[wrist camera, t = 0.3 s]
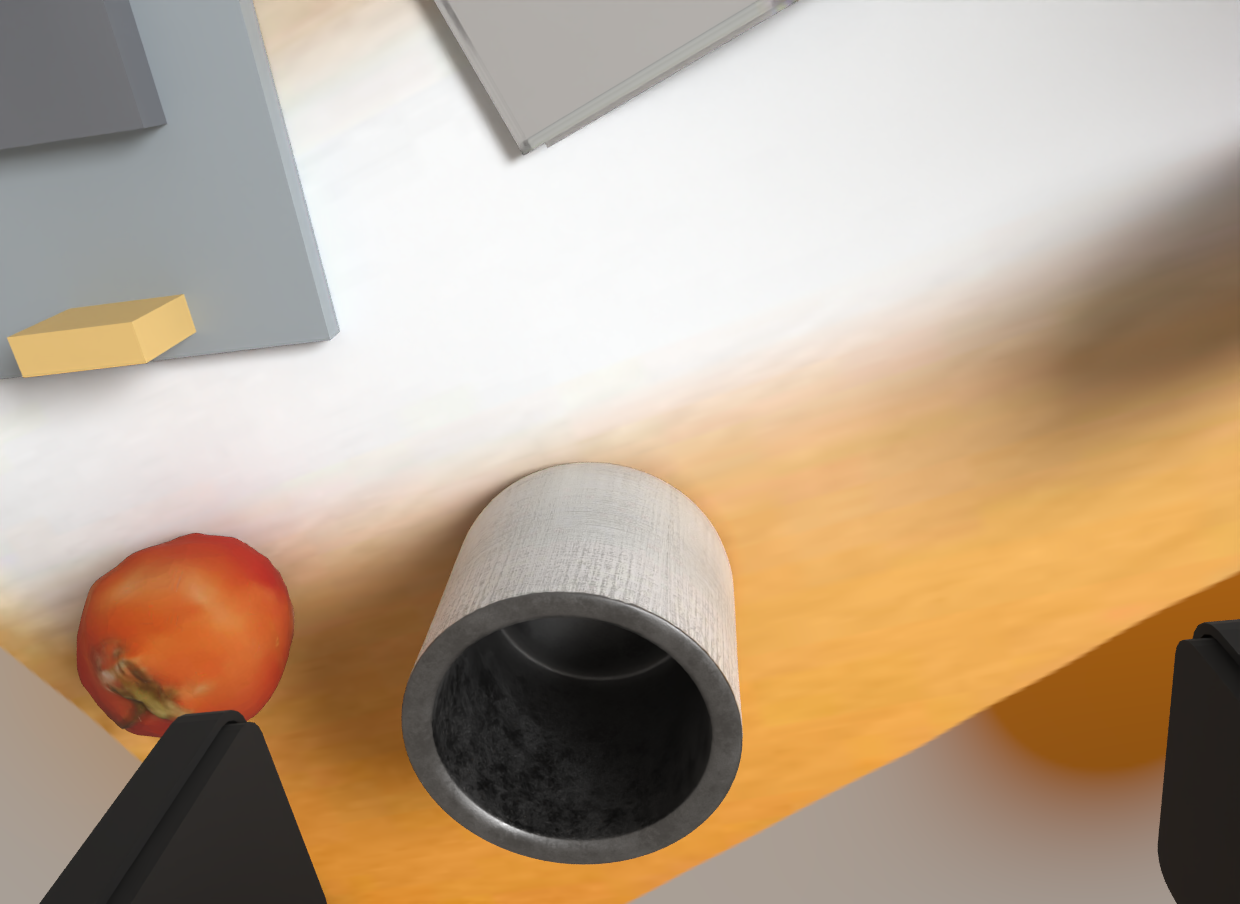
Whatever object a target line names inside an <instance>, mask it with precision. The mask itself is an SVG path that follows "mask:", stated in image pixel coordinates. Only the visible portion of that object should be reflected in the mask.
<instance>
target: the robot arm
mask: <svg viewBox="0 0 1240 904" xmlns="http://www.w3.org/2000/svg"><path fill="white" fill-rule="evenodd" d="M1158 856H1159V863H1160V867H1161V871H1162V874H1163V877H1164V879H1165V882H1166V884H1167V886H1168V888H1169V890H1170V892H1171V894H1172V896H1173V897H1174V899H1175V901H1176V903H1177V904H1240V619H1237V620H1226V621H1216V622H1204V623H1202V624H1200V625H1198V626H1197V628H1196V630H1195V631H1194V636H1193V639H1189V640H1182V641H1180V642H1179V644H1178V646H1177V648H1176V653H1175V663H1174V674H1173V685H1172V696H1171V707H1170V718H1169V728H1168V740H1167V750H1166V761H1165V772H1164V783H1163V794H1162V806H1161V815H1160V826H1159V837H1158ZM40 904H327V902H326V898H325V896H324V893H323V890H322V888H321V885H320V883H319V880H318V877H317V875H316V872H315V869H314V867H313V864H312V862H311V859H310V856H309V854H308V851H307V849H306V846H305V843H304V841H303V838H302V836H301V833H300V830H299V828H298V825H297V823H296V820H295V817H294V815H293V812H292V810H291V807H290V804H289V802H288V799H287V797H286V794H285V791H284V789H283V786H282V783H281V781H280V778H279V776H278V773H277V770H276V768H275V765H274V763H273V760H272V757H271V755H270V752H269V750H268V747H267V744H266V742H265V739H264V737H263V734H262V732H261V730H260V728H259V726H257V725H256V724H255V723H252V722H247V721H246V720H245V718H244V716H243V715H242V714H241V713H239V712H238V711H235V710H224V711H213V712H202V713H191V714H184V715H181V716H179V717H177V718H176V719H175V720H174V721H173V722H172V723H171V725H170V726H169V728H168V729H167V730H166V732H165V733H164V734H163V736H162V737H161V738H160V740H159V741H158V743H157V744H156V745H155V747H154V748H153V749H152V751H151V752H150V753H149V755H148V756H147V758H146V759H145V760H144V762H143V763H142V764H141V766H140V767H139V768H138V770H137V771H136V773H135V774H134V775H133V777H132V778H131V779H130V781H129V782H128V783H127V785H126V786H125V788H124V789H123V790H122V792H121V793H120V794H119V796H118V797H117V799H116V800H115V801H114V803H113V804H112V805H111V807H110V808H109V809H108V811H107V812H106V813H105V815H104V816H103V818H102V819H101V821H100V822H99V823H98V824H97V826H96V827H95V828H94V830H93V831H92V833H91V834H90V835H89V837H88V838H87V840H86V841H85V842H84V844H83V845H82V846H81V848H80V849H79V850H78V852H77V853H76V854H75V856H74V857H73V858H72V860H71V861H70V863H69V864H68V865H67V867H66V868H65V869H64V871H63V872H62V873H61V875H60V876H59V878H58V879H57V880H56V882H55V883H54V884H53V886H52V887H51V888H50V890H49V892H48V893H47V894H46V895H45V897H44V898H43V899H42V901H41V902H40Z"/></svg>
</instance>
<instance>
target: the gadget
mask: <svg viewBox="0 0 1240 904" xmlns="http://www.w3.org/2000/svg"><path fill="white" fill-rule="evenodd" d="M434 1H435V3H436V5H437V7H438V8H439V10H440V12H441V14H442V15H443V17H444V19H445V20H446V22H447V24H448V26H449V27H450V29H451V31H452V33H453V34H454V36H455V38H456V40H457V41H458V43H459V45H460V46H461V48H462V50H463V52H464V53H465V55H466V57H467V59H468V60H469V62H470V64H471V65H472V67H473V69H474V71H475V72H476V74H477V76H478V78H479V79H480V81H481V83H482V85H483V86H484V88H485V90H486V91H487V93H488V95H489V97H490V98H491V100H492V102H493V104H494V105H495V107H496V109H497V110H498V112H499V114H500V116H501V117H502V119H503V121H504V123H505V124H506V126H507V128H508V129H509V131H510V133H511V135H512V136H513V138H514V140H515V142H516V143H517V145H518V147H519V149H520V150H521V152H522V154H523V155H525V154H527V153H529V152H530V151H532V150H534V149H536V148H537V147H539V146H541V145H542V144H544V143H545V144H546V146H547V148H548V147H550V146H551V145H553V144H555V143H557V142H558V141H560V140H562V139H563V138H565V137H567V136H568V135H570V134H572V133H574V132H575V131H577V130H579V129H580V128H582V127H584V126H585V125H587V124H589V123H591V122H592V121H594V120H596V119H597V118H599V117H601V116H602V115H604V114H606V113H608V112H609V111H611V110H613V109H614V108H616V107H618V106H619V105H621V104H623V103H625V102H626V101H628V100H630V99H631V98H633V97H635V96H636V95H638V94H640V93H642V92H643V91H645V90H647V89H648V88H650V87H652V86H653V85H655V84H657V83H659V82H660V81H662V80H664V79H665V78H667V77H669V76H670V75H672V74H674V73H676V72H677V71H679V70H681V69H682V68H684V67H686V66H687V65H689V64H691V63H693V62H694V61H696V60H698V59H699V58H701V57H703V56H704V55H706V54H708V53H710V52H711V51H713V50H715V49H716V48H718V47H720V46H721V45H723V44H725V43H727V42H728V41H730V40H732V39H733V38H735V37H737V36H738V35H740V34H742V33H744V32H745V31H747V30H749V29H750V28H752V27H754V26H755V25H757V24H759V23H761V22H762V21H764V20H766V19H767V18H769V17H771V16H772V15H774V14H776V13H778V12H779V11H781V10H783V9H784V8H786V7H788V6H789V5H791V4H793V3H794V2H796V1H798V0H434Z"/></svg>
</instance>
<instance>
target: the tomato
mask: <svg viewBox="0 0 1240 904" xmlns="http://www.w3.org/2000/svg"><path fill="white" fill-rule="evenodd" d="M293 632H294V610H293V606H292V603H291V600H290V598H289V594H288V590H287V587H286V585H285V583H284V581H283V579H282V577H281V574H280V572H279V571H278V570H277V569H276V568H274V566H273V565H272V564H271V562H270V561H269V559H268V558H266V557H265V556H263V555H262V554H260V553H258V552H257V551H256V550H254V549H253V548H252V547H250V546H248V545H247V544H246V543H243V542H242V541H240V540H238V539H236V538H233V537H224V536H213V535H204V534H199V533H193V534H188V535H185V536H182V537H178V538H176V539H174V540H172V541H169V542H165V543H162V544H160V545H156V546H152V547H149V548H146V549H143V550H141V551H138V552H135V553H133V554H132V555H130V556H128V557H127V558H126V559H125V560H123V561H122V562H121V563H120V564H119V565H118V566H117V567H115V568H114V569H112V570H111V571H109V572H108V573H107V574H105V575H103V576H102V577H101V578H99V579H98V580H97V581H96V582H95V583H94V584H93V585H92V587H91V588H90V590H89V593H88V596H87V599H86V602H85V606H84V609H83V613H82V617H81V621H80V626H79V630H78V634H77V670H78V674H79V677H80V680H81V683H82V684H83V686H84V687H85V688H86V690H87V691H88V692H89V693H90V695H91V696H92V698H93V699H94V700H95V702H96V703H97V705H98V706H99V707H100V708H101V709H102V710H103V711H104V712H105V713H106V715H107V716H108V717H109V718H110V719H111V720H113V721H114V722H115V723H116V724H117V725H118V726H119V727H120V728H121V729H126V730H127V731H129V732H131V733H134V734H137V735H144V736H152V737H160V738H161V737H162V736H163V734H164V733H165V732H166V730H167V729H168V728H169V726H170V725H171V723H172V722H173V721H174V720H175V719H176V718H177V717H179V716H181V715H184V714H191V713H202V712H213V711H224V710H235V711H238V712H239V713H241V714H242V715H243V716H244V718H245V720H246V721H248V720H249V719H250V718H252V717H254V716H255V715H256V714H257V713H258V712H259V711H260V710H261V709H262V708H263V707H264V705H265V704H266V703H267V702H268V700H269V699H270V698H271V696H272V694H273V693H274V691H275V689H276V687H277V685H278V683H279V681H280V679H281V676H282V674H283V671H284V668H285V665H286V662H287V659H288V655H289V650H290V646H291V642H292V638H293Z"/></svg>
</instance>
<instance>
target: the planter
mask: <svg viewBox="0 0 1240 904" xmlns="http://www.w3.org/2000/svg"><path fill="white" fill-rule="evenodd" d="M402 732H403V739H404V743H405V748H406V751H407V754H408V757H409V760H410V762H411V764H412V767H413V769H414V771H415V773H416V775H417V777H418V778H419V780H420V782H421V783H422V785H423V786H424V788H425V789H426V790H427V792H428V793H429V794H430V796H431V797H432V798H433V799H434V800H435V801H436V803H437V804H438V805H439V806H440V807H441V808H442V809H443V810H444V811H445V812H446V813H447V814H448V815H450V816H451V817H452V818H453V819H454V820H455V821H457V822H458V823H459V824H461V825H462V826H463V827H465V828H466V829H468V830H469V831H471V832H472V833H474V834H476V835H477V836H479V837H481V838H483V839H484V840H486V841H488V842H490V843H492V844H494V845H497V846H499V847H501V848H504V849H506V850H509V851H511V852H514V853H517V854H520V855H523V856H527V857H531V858H535V859H539V860H544V861H550V862H557V863H566V864H602V863H611V862H618V861H624V860H629V859H633V858H637V857H640V856H644V855H647V854H650V853H653V852H655V851H658V850H660V849H662V848H665V847H667V846H669V845H671V844H673V843H675V842H677V841H678V840H680V839H682V838H683V837H685V836H686V835H688V834H689V833H691V832H692V831H693V830H695V829H696V828H697V827H698V826H700V825H701V824H702V823H703V822H704V821H705V820H706V819H707V818H708V817H709V816H710V815H711V814H712V813H713V812H714V811H715V810H716V809H717V807H718V806H719V805H720V803H721V802H722V801H723V799H724V798H725V796H726V794H727V793H728V791H729V789H730V787H731V785H732V783H733V781H734V779H735V776H736V773H737V770H738V767H739V763H740V759H741V752H742V737H743V733H742V716H741V703H740V690H739V676H738V660H737V642H736V622H735V604H734V588H733V578H732V571H731V567H730V563H729V560H728V557H727V554H726V551H725V549H724V546H723V544H722V541H721V539H720V537H719V535H718V533H717V531H716V530H715V528H714V526H713V525H712V523H711V522H710V520H709V519H708V518H707V517H706V515H705V514H704V513H703V512H702V511H701V510H700V509H699V507H698V506H697V505H696V504H695V503H694V502H693V501H691V500H690V499H689V498H688V497H687V496H686V495H684V494H683V493H682V492H680V491H679V490H678V489H676V488H674V487H673V486H671V485H670V484H668V483H666V482H665V481H663V480H661V479H659V478H657V477H655V476H653V475H650V474H648V473H645V472H643V471H640V470H636V469H633V468H629V467H625V466H621V465H616V464H609V463H598V462H583V463H570V464H563V465H558V466H554V467H550V468H547V469H543V470H540V471H538V472H535V473H532V474H530V475H528V476H526V477H523V478H521V479H520V480H518V481H516V482H515V483H513V484H511V485H510V486H509V487H507V488H506V489H504V490H503V491H502V492H501V493H499V494H498V495H497V496H496V497H495V498H494V499H493V500H492V501H491V502H490V503H489V504H488V505H487V506H486V507H485V508H484V510H483V511H482V512H481V513H480V515H479V516H478V517H477V519H476V520H475V521H474V523H473V524H472V526H471V528H470V529H469V531H468V533H467V535H466V537H465V539H464V542H463V544H462V547H461V549H460V552H459V554H458V557H457V559H456V562H455V564H454V567H453V569H452V572H451V574H450V577H449V580H448V582H447V585H446V588H445V590H444V593H443V595H442V598H441V600H440V603H439V606H438V608H437V611H436V613H435V616H434V618H433V621H432V623H431V626H430V628H429V631H428V633H427V635H426V638H425V640H424V643H423V645H422V648H421V650H420V652H419V655H418V657H417V660H416V662H415V664H414V667H413V669H412V672H411V675H410V677H409V680H408V683H407V686H406V690H405V694H404V698H403V704H402Z"/></svg>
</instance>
